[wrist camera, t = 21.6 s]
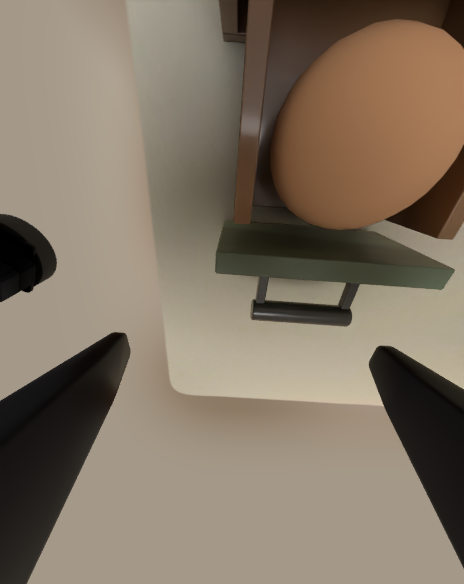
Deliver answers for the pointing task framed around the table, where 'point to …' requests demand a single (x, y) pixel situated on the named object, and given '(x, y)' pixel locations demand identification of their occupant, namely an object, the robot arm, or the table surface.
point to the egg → (370, 125)
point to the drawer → (259, 182)
